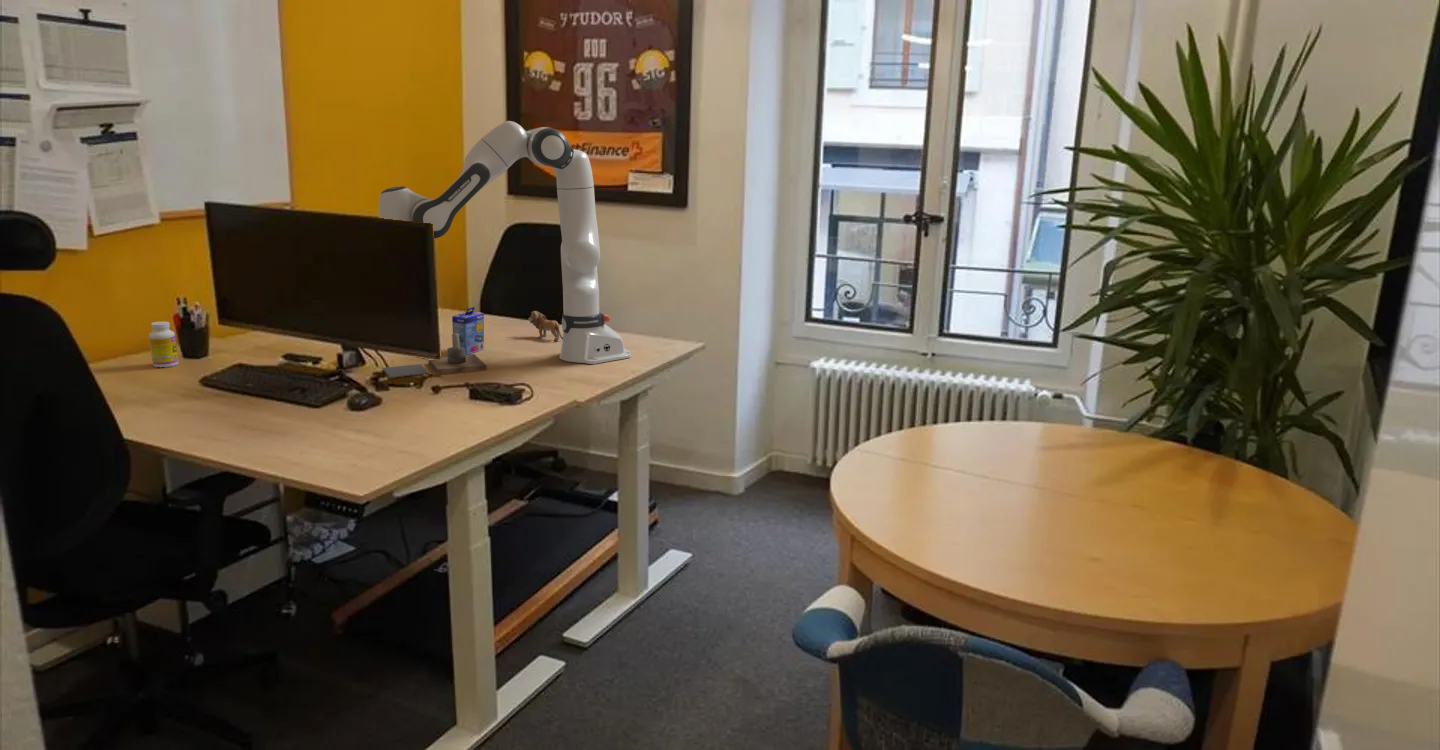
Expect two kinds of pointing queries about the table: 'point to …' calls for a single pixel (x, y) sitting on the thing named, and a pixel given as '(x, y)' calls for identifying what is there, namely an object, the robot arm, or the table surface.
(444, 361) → the stand
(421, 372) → the mat
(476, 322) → the ink cartridge box
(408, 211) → the robot arm
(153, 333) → the supplement bottle
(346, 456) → the table surface
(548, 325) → the lion figurine
